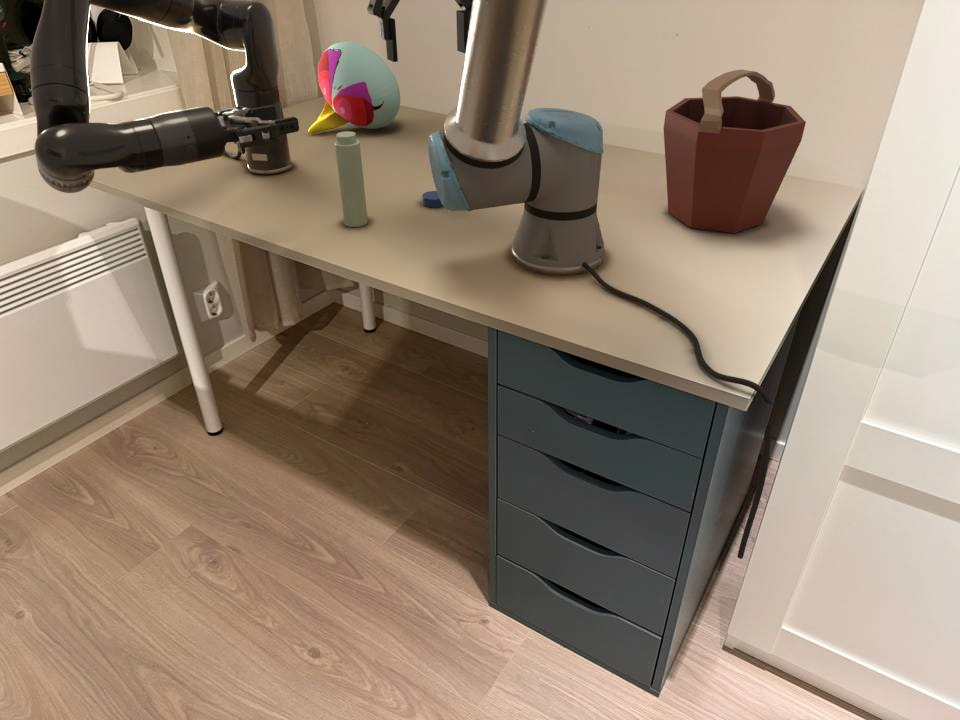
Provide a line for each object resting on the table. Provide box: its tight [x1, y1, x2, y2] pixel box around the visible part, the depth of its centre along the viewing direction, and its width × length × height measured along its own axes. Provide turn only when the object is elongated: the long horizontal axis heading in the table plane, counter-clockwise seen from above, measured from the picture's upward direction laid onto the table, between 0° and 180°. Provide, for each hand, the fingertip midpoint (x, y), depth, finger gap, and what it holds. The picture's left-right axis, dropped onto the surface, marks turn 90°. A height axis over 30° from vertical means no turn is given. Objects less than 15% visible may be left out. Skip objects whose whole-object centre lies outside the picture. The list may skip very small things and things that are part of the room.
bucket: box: [663, 69, 807, 234], centre depth 125 cm, size 24×22×25 cm
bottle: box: [334, 130, 369, 228], centre depth 126 cm, size 4×4×16 cm
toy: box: [307, 41, 401, 134], centre depth 176 cm, size 24×24×20 cm
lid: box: [421, 190, 444, 208], centre depth 137 cm, size 5×5×2 cm
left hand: (286, 117), depth 113 cm, fingers open, 8 cm apart
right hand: (428, 56), depth 122 cm, fingers open, 13 cm apart
